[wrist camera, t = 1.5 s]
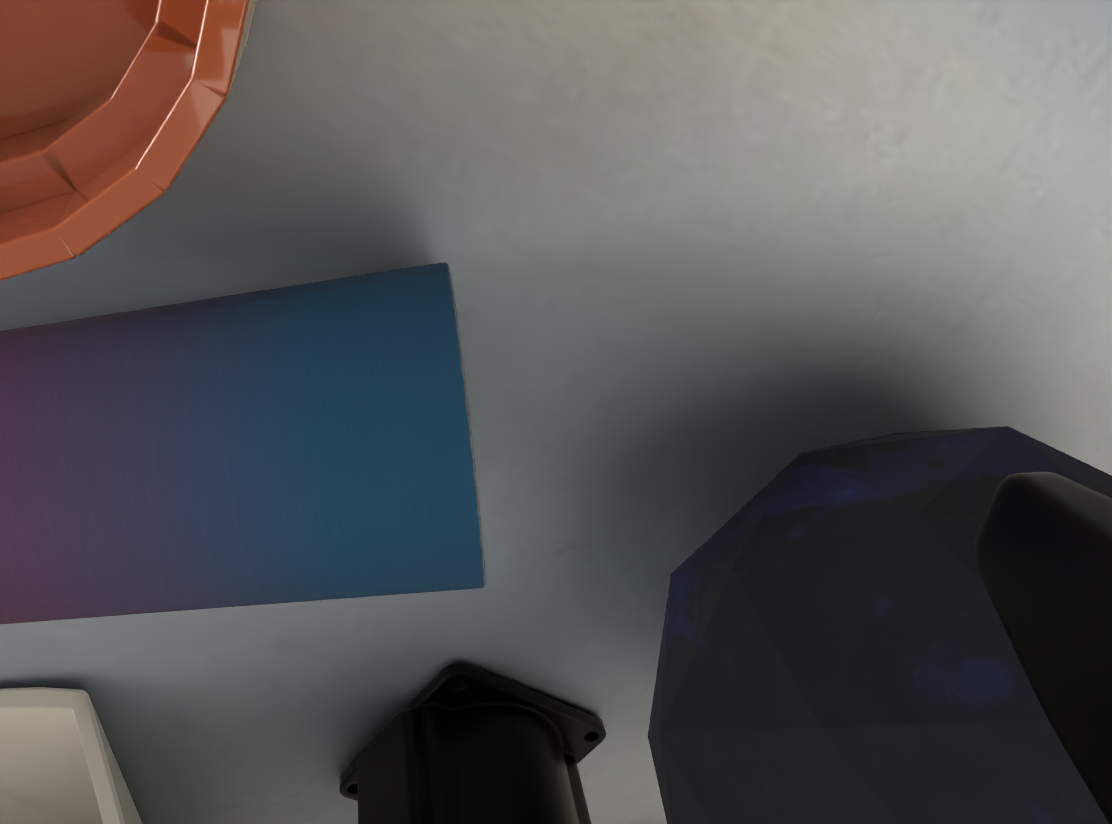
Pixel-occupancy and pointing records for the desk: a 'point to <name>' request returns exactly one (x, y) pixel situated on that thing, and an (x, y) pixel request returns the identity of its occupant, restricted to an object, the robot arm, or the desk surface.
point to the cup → (239, 452)
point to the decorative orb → (860, 650)
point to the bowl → (103, 112)
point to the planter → (58, 761)
